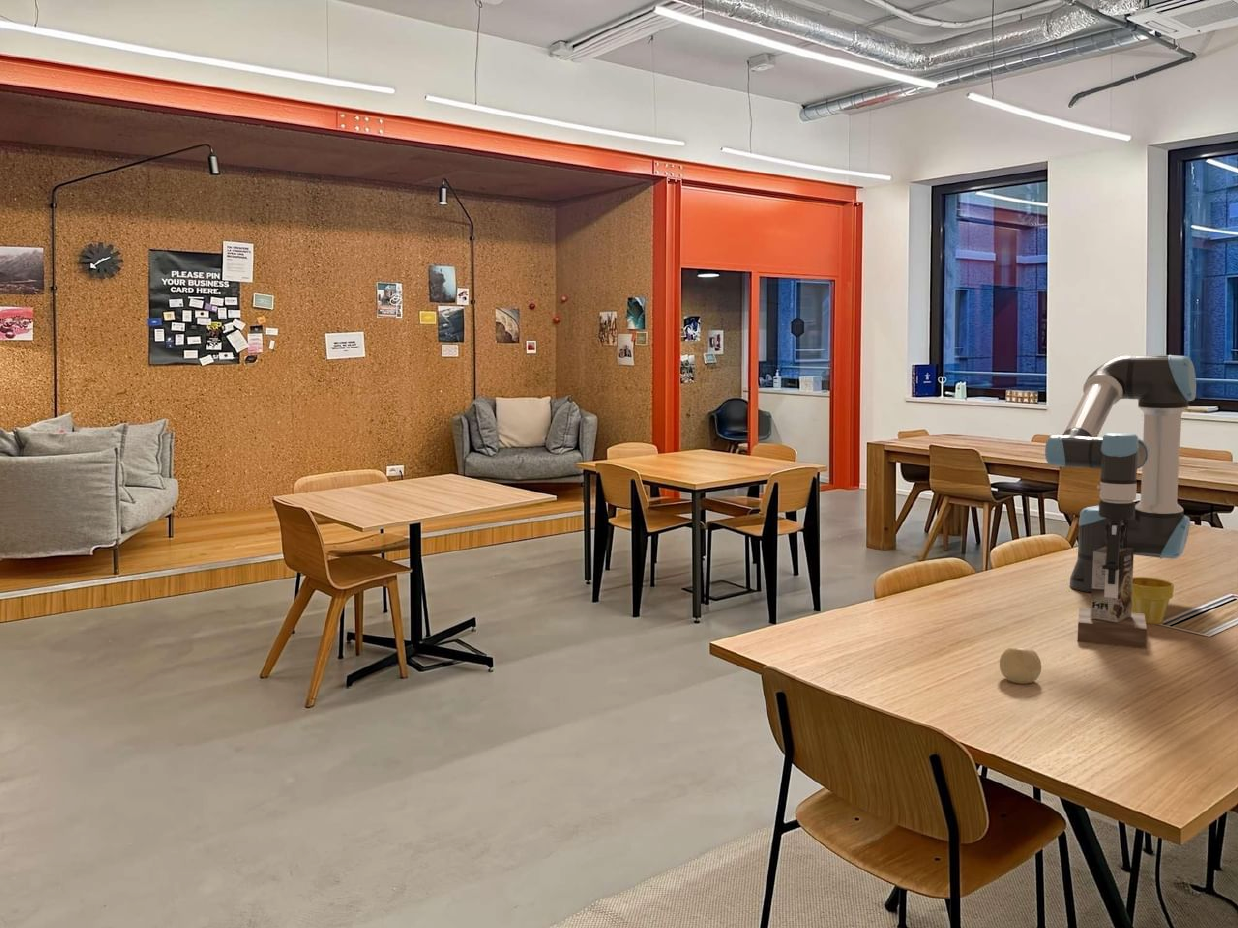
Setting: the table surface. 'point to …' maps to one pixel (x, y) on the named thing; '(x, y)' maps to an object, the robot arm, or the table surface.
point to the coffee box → (1122, 605)
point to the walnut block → (1112, 630)
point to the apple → (1020, 665)
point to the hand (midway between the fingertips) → (1113, 590)
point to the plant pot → (1151, 598)
